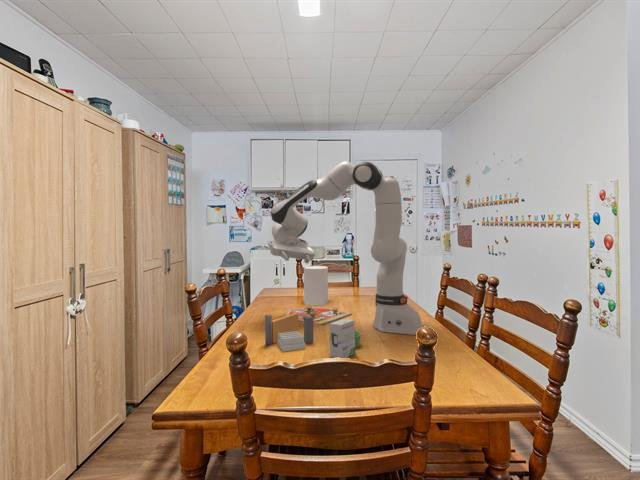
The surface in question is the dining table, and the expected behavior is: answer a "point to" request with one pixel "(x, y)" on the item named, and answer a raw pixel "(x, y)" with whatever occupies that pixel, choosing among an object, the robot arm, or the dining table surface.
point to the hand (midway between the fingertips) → (297, 260)
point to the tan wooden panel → (284, 326)
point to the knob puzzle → (319, 314)
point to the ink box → (342, 338)
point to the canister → (315, 285)
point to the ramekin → (357, 338)
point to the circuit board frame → (290, 335)
